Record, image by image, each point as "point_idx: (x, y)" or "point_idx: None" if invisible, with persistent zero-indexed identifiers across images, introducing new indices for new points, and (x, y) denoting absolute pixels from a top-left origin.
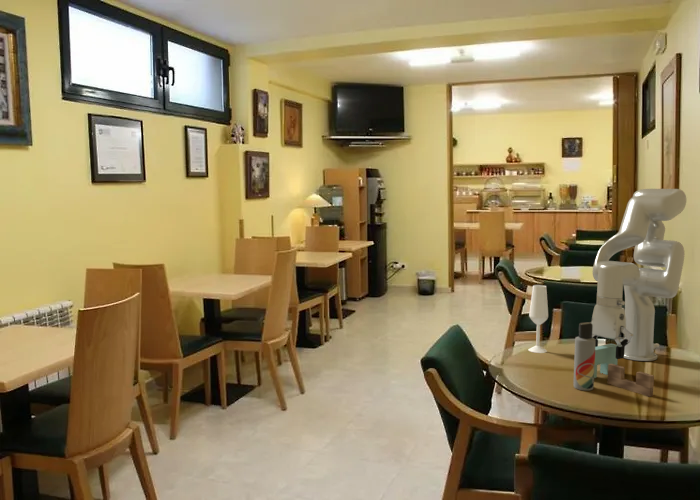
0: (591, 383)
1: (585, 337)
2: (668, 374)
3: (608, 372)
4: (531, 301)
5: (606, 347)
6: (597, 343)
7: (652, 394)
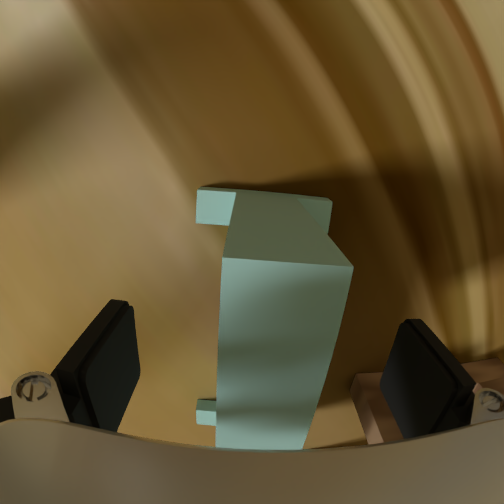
0: None
1: None
2: (466, 20)
3: (365, 428)
4: None
5: (297, 439)
6: (104, 357)
7: (498, 362)
